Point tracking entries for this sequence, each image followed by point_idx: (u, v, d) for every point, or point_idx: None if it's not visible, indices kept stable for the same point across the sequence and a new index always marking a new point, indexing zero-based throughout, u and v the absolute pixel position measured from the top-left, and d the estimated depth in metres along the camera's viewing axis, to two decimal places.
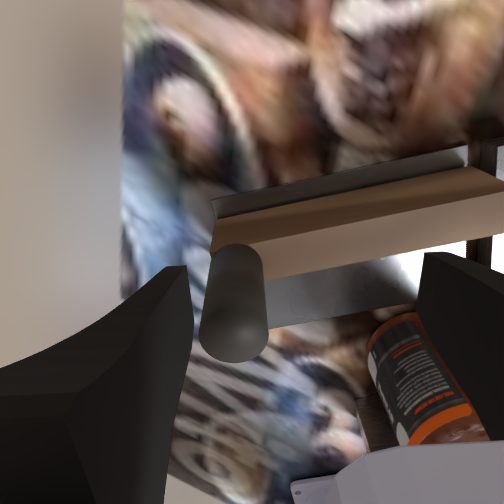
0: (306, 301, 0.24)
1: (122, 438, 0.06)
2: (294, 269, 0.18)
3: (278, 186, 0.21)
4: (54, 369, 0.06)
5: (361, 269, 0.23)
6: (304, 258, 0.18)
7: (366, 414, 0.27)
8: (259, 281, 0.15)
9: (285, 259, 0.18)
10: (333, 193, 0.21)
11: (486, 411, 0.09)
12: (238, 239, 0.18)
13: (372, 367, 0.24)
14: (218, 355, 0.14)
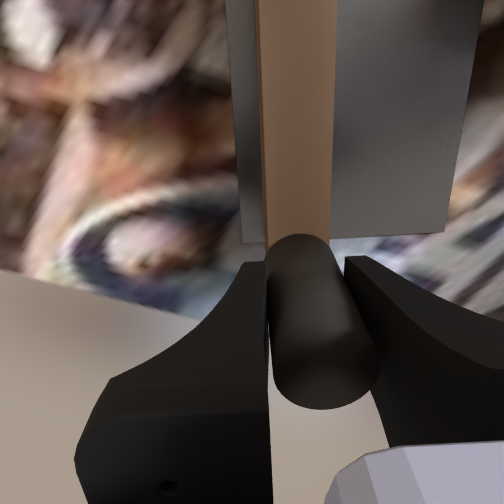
0: (422, 142, 0.16)
1: None
2: (322, 190, 0.12)
3: (237, 160, 0.16)
4: (206, 361, 0.06)
5: (394, 46, 0.14)
6: (306, 175, 0.12)
7: None
8: (292, 275, 0.11)
9: (302, 202, 0.12)
10: None
11: (386, 416, 0.09)
12: None
13: None
14: (356, 393, 0.09)
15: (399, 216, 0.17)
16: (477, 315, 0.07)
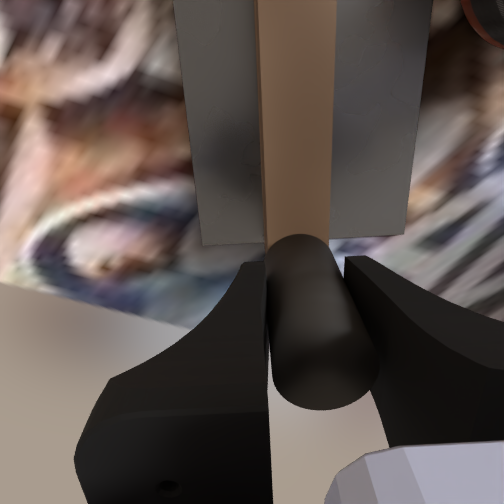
0: (378, 145, 0.16)
1: None
2: (321, 191, 0.12)
3: (193, 163, 0.16)
4: (206, 361, 0.06)
5: (344, 49, 0.14)
6: (306, 175, 0.12)
7: None
8: (291, 275, 0.11)
9: (301, 202, 0.12)
10: (211, 88, 0.15)
11: (386, 416, 0.09)
12: (267, 250, 0.14)
13: None
14: (356, 393, 0.09)
15: (358, 219, 0.17)
16: (477, 315, 0.07)
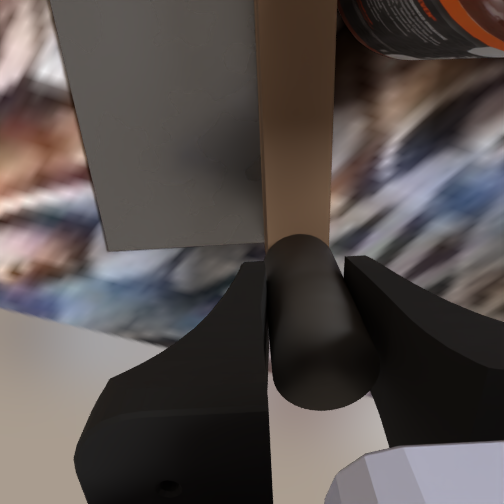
0: None
1: None
2: (321, 191, 0.12)
3: (91, 169, 0.16)
4: (206, 361, 0.06)
5: (229, 56, 0.14)
6: (306, 175, 0.12)
7: None
8: (292, 275, 0.11)
9: (301, 202, 0.12)
10: (100, 94, 0.15)
11: (385, 416, 0.09)
12: (267, 250, 0.14)
13: (408, 58, 0.13)
14: (356, 394, 0.09)
15: (262, 224, 0.17)
16: (477, 315, 0.07)
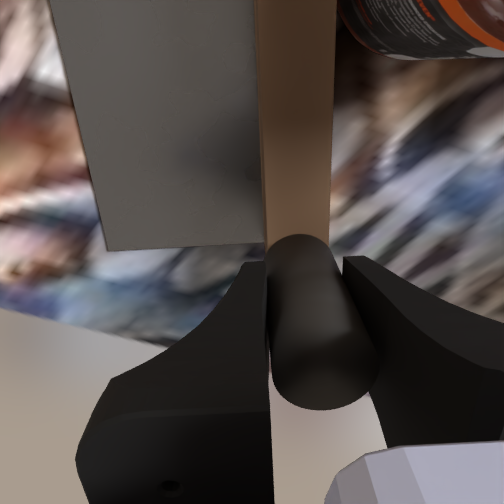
0: None
1: None
2: (321, 191, 0.12)
3: (90, 169, 0.16)
4: (207, 361, 0.06)
5: (229, 56, 0.14)
6: (306, 175, 0.12)
7: None
8: (291, 275, 0.11)
9: (301, 202, 0.12)
10: (99, 94, 0.15)
11: (383, 417, 0.09)
12: None
13: (408, 58, 0.13)
14: (356, 394, 0.09)
15: (262, 224, 0.17)
16: (474, 315, 0.07)
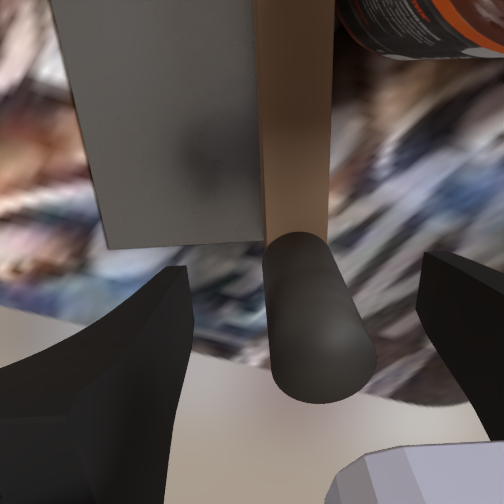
0: None
1: (122, 438, 0.06)
2: (319, 189, 0.12)
3: (91, 168, 0.16)
4: (54, 369, 0.06)
5: (228, 57, 0.15)
6: (304, 173, 0.12)
7: None
8: (290, 272, 0.11)
9: (300, 200, 0.12)
10: (100, 94, 0.15)
11: (486, 411, 0.09)
12: (266, 248, 0.14)
13: (404, 58, 0.13)
14: (353, 387, 0.09)
15: (261, 223, 0.17)
16: None
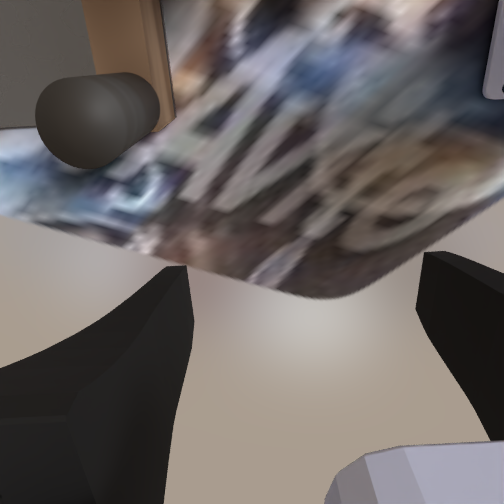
0: None
1: (122, 438, 0.06)
2: (135, 28, 0.14)
3: None
4: (54, 369, 0.06)
5: None
6: (119, 12, 0.14)
7: None
8: None
9: (119, 39, 0.14)
10: None
11: (486, 411, 0.09)
12: None
13: None
14: (112, 150, 0.11)
15: None
16: None
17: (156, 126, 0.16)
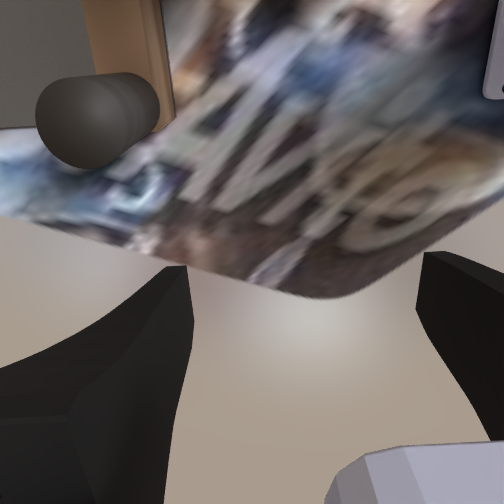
0: None
1: (122, 438, 0.06)
2: (135, 28, 0.14)
3: None
4: (54, 369, 0.06)
5: None
6: (119, 12, 0.14)
7: None
8: None
9: (119, 39, 0.14)
10: None
11: (486, 411, 0.09)
12: None
13: None
14: (112, 150, 0.11)
15: None
16: None
17: (156, 126, 0.16)
